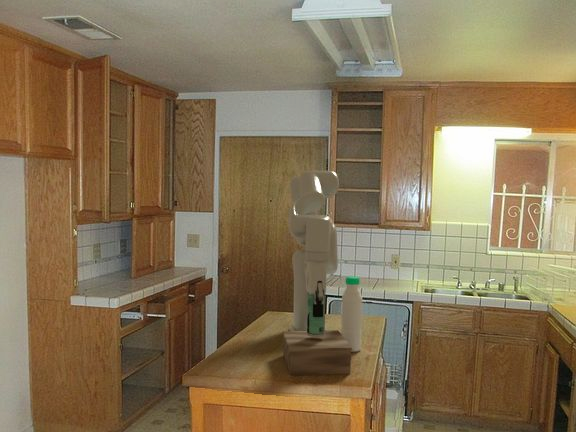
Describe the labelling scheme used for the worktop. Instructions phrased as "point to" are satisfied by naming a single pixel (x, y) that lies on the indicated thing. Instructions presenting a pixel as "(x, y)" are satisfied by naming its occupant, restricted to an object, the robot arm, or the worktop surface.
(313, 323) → the spray can
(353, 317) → the water bottle
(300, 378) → the worktop surface
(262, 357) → the worktop surface
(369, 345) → the worktop surface
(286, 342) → the brown wooden block
